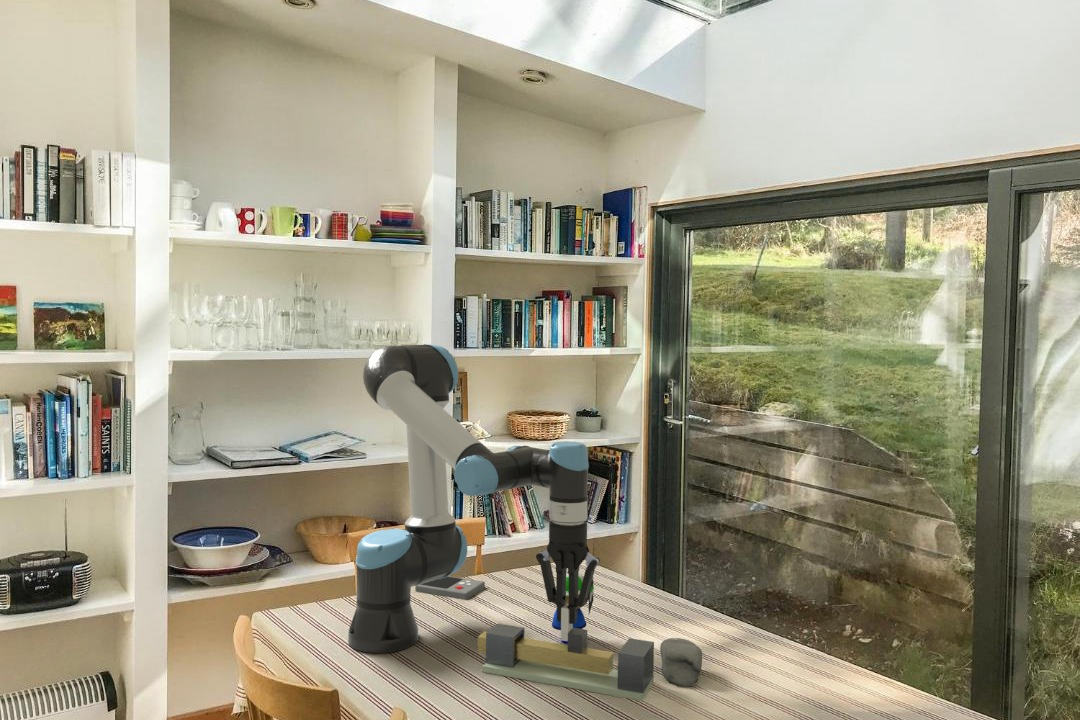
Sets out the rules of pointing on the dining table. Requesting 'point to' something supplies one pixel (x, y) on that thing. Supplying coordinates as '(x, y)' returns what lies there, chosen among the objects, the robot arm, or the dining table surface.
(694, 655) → the stone
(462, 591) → the electronic device
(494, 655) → the guide sleeve
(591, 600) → the toy
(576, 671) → the base plank
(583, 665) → the sliding bolt
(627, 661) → the socket block
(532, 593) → the dining table surface
